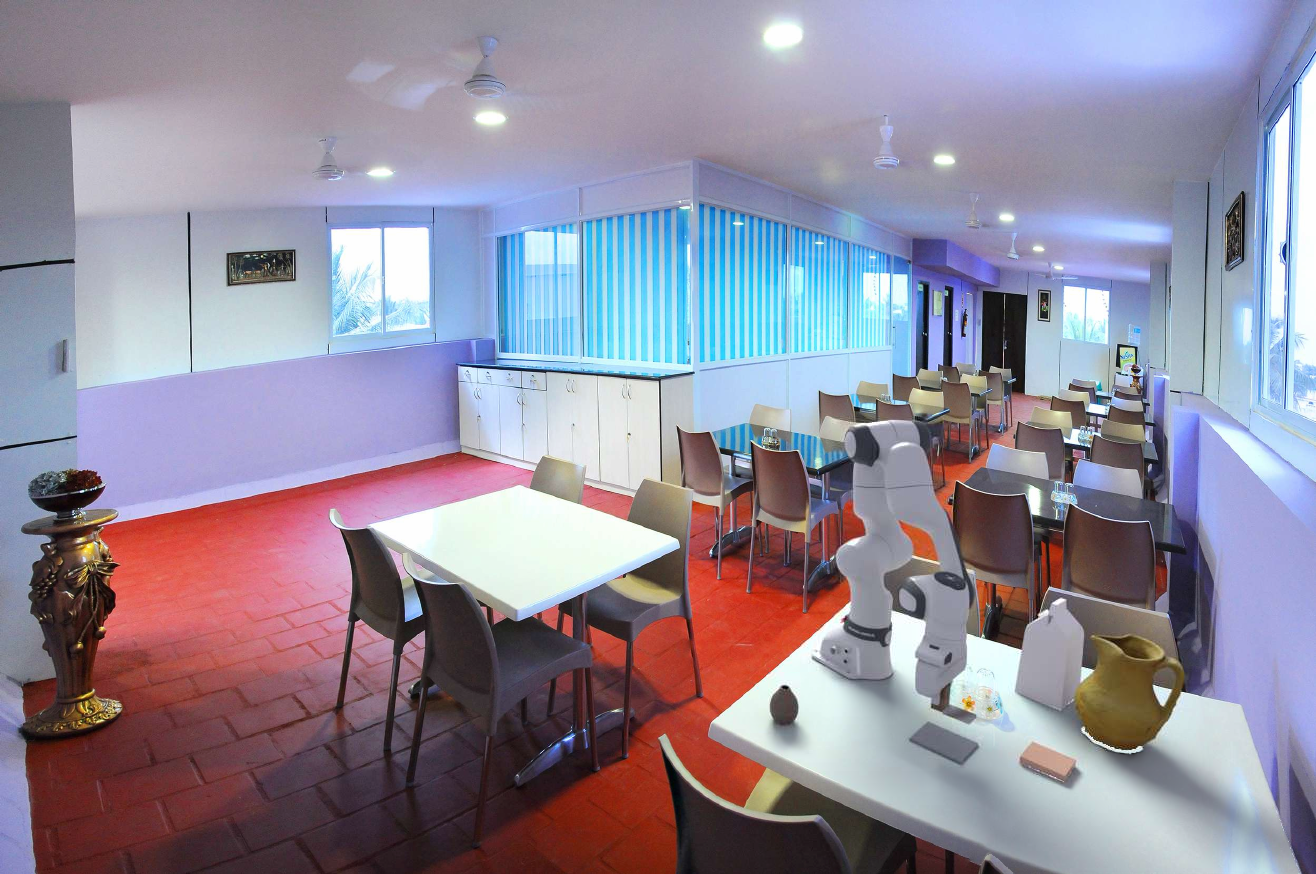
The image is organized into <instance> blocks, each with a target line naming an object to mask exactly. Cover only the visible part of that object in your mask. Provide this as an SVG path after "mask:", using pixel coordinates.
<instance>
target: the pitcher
mask: <svg viewBox="0 0 1316 874" xmlns="http://www.w3.org/2000/svg"><path fill="white" fill-rule="evenodd" d="M1089 639H1090V640H1091V642H1092V643H1093V644H1094V646H1095V648H1096V651H1097V663H1096V666H1095V668H1094V670H1093V671H1092V672H1091V673H1090V675H1088V676H1087V677H1086V678H1084V679H1083V680H1082V681H1081V682H1080V684H1079V686H1078V687H1077V689H1076V692H1075V698H1074V701H1073V702H1074V708H1075V709H1076V712H1075V713H1076V715H1077V716H1078V717H1079V718H1080V721H1081V722H1082V723H1083V725H1084V727H1085V732H1087V733H1089V735H1090V736H1091V737H1093V739H1094V740H1096V741H1099V742H1102V743H1103V744H1106V745H1108V746H1110V747H1114V748H1115V749H1121V750H1132V749H1136V748H1137V747H1138V746H1143V747H1144V745H1147V743H1149V742H1151V741H1153V740H1155V739H1156V738H1157V735H1158V734H1159V732H1161V729H1162V728H1163V727H1164V726H1165V724H1166V723H1167V722H1168V721H1169V720H1170V718H1171V717H1172V713H1173V711H1174V708H1175V707H1176V706H1177V701H1178V700H1179V697H1180V696H1181V695H1182V689H1183V686H1184V682H1185V671H1184V667H1183V665H1182V664H1181V662H1180V661H1178V660H1177V659H1175V658H1174V657H1169V656H1166V653H1165V650H1164V649H1163V648H1162V647H1161V646H1159V645H1157V644H1156V643H1155V642H1153V641H1150V640H1148V639H1147V638H1144V637H1141V636H1138V635H1136V634H1133V633H1129V634H1126V635H1123V636H1111V635H1103V634H1101V635H1100V634H1095V635H1091V636H1090V638H1089ZM1167 667H1168V668H1169V669H1171V670H1172V671H1173V673H1174V675H1175V680H1174V683H1173V686H1172V689H1171V691H1170V694H1169V695H1168V697H1167V699H1166V701H1165V703H1164V705H1162V704H1161V702H1160V700H1159V699H1158V697H1157V695H1156V692H1155V690H1154V675H1155V673H1156V672H1157V671H1159V670H1162V669H1165V668H1167Z"/></svg>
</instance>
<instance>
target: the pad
mask: <svg viewBox="0 0 1316 874" xmlns="http://www.w3.org/2000/svg"><path fill="white" fill-rule="evenodd" d="M908 740H909V741H910V742H912V743H915V744H917V745H919V746H921V747H923V748H925V749H928V750H930V751H932V752H934V753H937V754H938V755H941V756H943V757H945V758H947V759H949V760H951V761H954V762H955V763H958V764H959V765H962V764H963V763H964V762H965V761H966V759H967V758H968V757H969V756H970V755H971V754H972V753H973V752H974V751H975V750H976V749H977V747H978V746H979V742H978V741H977V742H976V741H975V740H972V739H970V738H967V737H965V736H962V735H960V734H958V733H955V732H953V731H951V730H949V729H947V728H944V727H943V726H940V725H937V724H935V723H932V722H930V721H927V722H926V723H924V724H923V725H922V726H921V727H920V728H919V729H917V731H915V732H914V734H912V735H911V736H910V737H909V739H908Z"/></svg>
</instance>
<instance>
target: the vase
mask: <svg viewBox="0 0 1316 874" xmlns="http://www.w3.org/2000/svg"><path fill="white" fill-rule="evenodd" d="M799 708H800V707H799V701H798V698H797V696H796V695H795V694H794V692H793V691H792V688H791V687H790V685H787V684H781V685H780V687H779V688H778V689H777V690H776V691H775V692H774V693H773V694H772V696H771V698H770V701H769V712H770V715H771V718H772V719H773V720H774V722H776V723H777V724H779V725H782V726H786V725H787V726H788V725H790V724H792V723H794V722H795V720H796V719H797V717H798V714H799Z"/></svg>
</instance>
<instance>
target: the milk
mask: <svg viewBox="0 0 1316 874" xmlns="http://www.w3.org/2000/svg"><path fill="white" fill-rule="evenodd" d="M1037 616H1038V618H1037V619H1035V620H1033V621H1031V622H1030V623H1028V624H1027V626H1026V627H1025V630H1024V634H1023V639H1022V640H1023V641H1022V647H1021V653H1020V658H1019V663H1018V669H1017V674H1016V682H1015V688H1014V693H1017V694H1019V695H1021V696H1024V697H1026V698H1028V699H1030V700H1033V701H1036V702H1038V701H1039V703H1040V702H1041V704H1043V703H1044V704H1043V705H1045V704H1047V705H1050V706H1052V707H1055V708H1057V709H1060V710H1062V709H1063V708H1064V707H1065V706H1066V705H1067V704H1068V703H1069V702H1071V701H1072V700H1073V699H1074V698H1075V692H1076V689H1077V687H1078V686H1079V684H1080V683H1081V682H1082V681H1081V679H1082V666H1083V656H1084V655H1083V653H1084V640H1085V631H1084V628H1083V626H1082V625H1081V623H1079V621H1078V620H1077V619H1076V617H1074V616H1073V614H1072V613H1071V612H1070V611H1069V610H1068V609H1067V599H1065V598H1062V597H1060V598H1058V599H1057V600H1055V601H1053V602H1052V603H1051V604H1050V607H1049V610H1048V609H1045V610H1043V611H1042V612H1040V613H1038V614H1037ZM1071 703H1072V702H1071ZM1047 705H1046V706H1047ZM1050 706H1049V707H1050ZM1052 707H1051V708H1052ZM1065 708H1066V707H1065ZM1065 708H1064V709H1065ZM1057 709H1056V710H1057ZM1064 709H1063V710H1064ZM1063 710H1062V711H1063Z"/></svg>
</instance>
